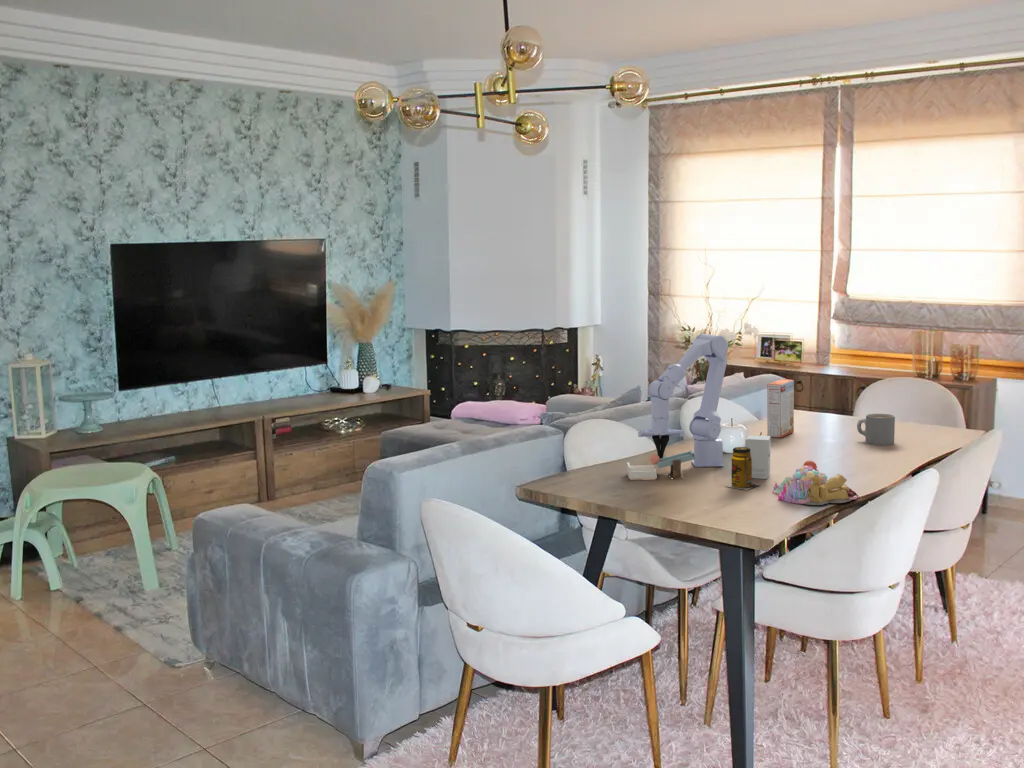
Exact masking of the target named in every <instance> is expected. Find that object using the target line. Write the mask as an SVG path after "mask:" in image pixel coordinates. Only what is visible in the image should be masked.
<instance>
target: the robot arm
mask: <svg viewBox="0 0 1024 768" xmlns="http://www.w3.org/2000/svg"><path fill="white" fill-rule="evenodd" d="M691 344H692V345H691V346H690V347H689V348H688V349H687V351H686V352H685V353H684V354H683V356H682V357H681V358H680V360H679V361H678V362H677V363H673V364H670V365H668V366H667V369H666V370H665V371H664V372H663V373H662V375H659V377H658V379H657V380H656V379H655V380H653V381H652V382H651V383H650V384H649V385H648V388H647V394H648V395H649V398H650V402H651V429H641V430H637V436H638V438H647V437H651V438H652V441H653V443H654V445H655V449H656V452H657V455H658V456H659V458H660V459H661V458H663V456H665V450H666V448H667V445H668V443H669V441H670V437H684V430H683V429H671V428H670V398H671V397H672V396H673V394H674V390H675V389H676V386H678V384H679V383H680V382H681V381H682V380H683V379H684V378H685V376H686V371H687V369H689V368H690V367H691V366H692V365H693V364H694V363H695V362H696V361H697V360H698V359H699V358H700V357H704V358H706V360H707V362H708V363H709V366H708V369H707V370H708V371H707V373H706V374H707V375H706V380H705V384H704V390H703V393H702V398H701V403H700V407H699V409H698V410H696V411H695V412H694V413H693V416H692V419H691V421H690V423H689V426H688V428H689V432H690V434H691V435H692V438H693V453H694V456H695V459H694V460H691V463H692V465H693V466H694V467H695V468H697V467H699V468H700V467H703V468H705V467H723V466H724V464H723V462H724V458H723V457H724V456H723V455H724V454H723V453H724V451H723V450H724V447H723V446H724V445H723V440H722V438H718V437H719V436H720V433H721V429H722V428H721V421H722V418H721V417H720V416H719V413H718V412H717V411H718V407H719V401H720V397H721V392H722V388H723V382H724V378H725V372H726V367H727V364H728V363H727V362H728V355H727V353H728V348H729V343H728V341H727V340H726V337H724V336H723V335H721V334H718V335H717V334H709V333H707V334H706V333H700V334H698V335H697V336H696V337H695V338H694V339H693V340H692V343H691Z"/></svg>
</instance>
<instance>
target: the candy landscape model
mask: <svg viewBox="0 0 1024 768" xmlns="http://www.w3.org/2000/svg"><path fill="white" fill-rule="evenodd" d="M817 468H818V466H817V463H816V462H815V461H813V460H806V461H804V463H803V464H802V466H801V467H800V468H799V467H798V468H796V469H795V472H794V473H793V474H792V476H785V478H784V479H783V481H782V482H781V483H779V484H778V483H777V482H775V484H774V485H773V489H772V490H771V491H772V494H774V495H778V497H777V499H778V500H779V501H784V502H786V504H788V503H791V504H795V505H798V504H801V505H809V506H810V505H811V506H822V505H825V504H826V505H828V504H830V503H831V504H843V503H847V502H851V501H853V500H857V499H858V498H859V495H858V494H857V493H856V491H854V490H852V489H851V488H850V487H849V486H847V483H846V482H847V481H848V479H847V478H845V477H844V476H843V475H842V474H839V473H837V474H836V475H834V476H832V477H828V475H827V474H825V472H820V471H819V470H818V469H817Z"/></svg>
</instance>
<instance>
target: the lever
mask: <svg viewBox="0 0 1024 768" xmlns="http://www.w3.org/2000/svg"><path fill="white" fill-rule="evenodd" d="M694 459H695V456H694V450H692V449H691V450H688V451H686V452H685V451H684V452H682V453H677V454H673V455H669V456H666V455H663V458H661V459H660V461H659V462H658V463H657V464H656V466H657V468H658V469H662V468H666V467H671V465H673V460H681V464H682V463H685V462H690V461H694Z"/></svg>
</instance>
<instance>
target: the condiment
mask: <svg viewBox="0 0 1024 768" xmlns="http://www.w3.org/2000/svg"><path fill="white" fill-rule="evenodd" d="M750 451H751V450H750V448H747V447H745V446H737V447H733V449H732V457H731V484H730V485H726V487H727V488H728V487H729V488H733V489H738V490H745V491H747V490H750V489H753V488H755V487H759V486H761V485H762V484H760V483H759V484H758V483H752V481H753V480H752V479H753V478H752V458H751V456H750V455H751V453H750Z"/></svg>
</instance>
